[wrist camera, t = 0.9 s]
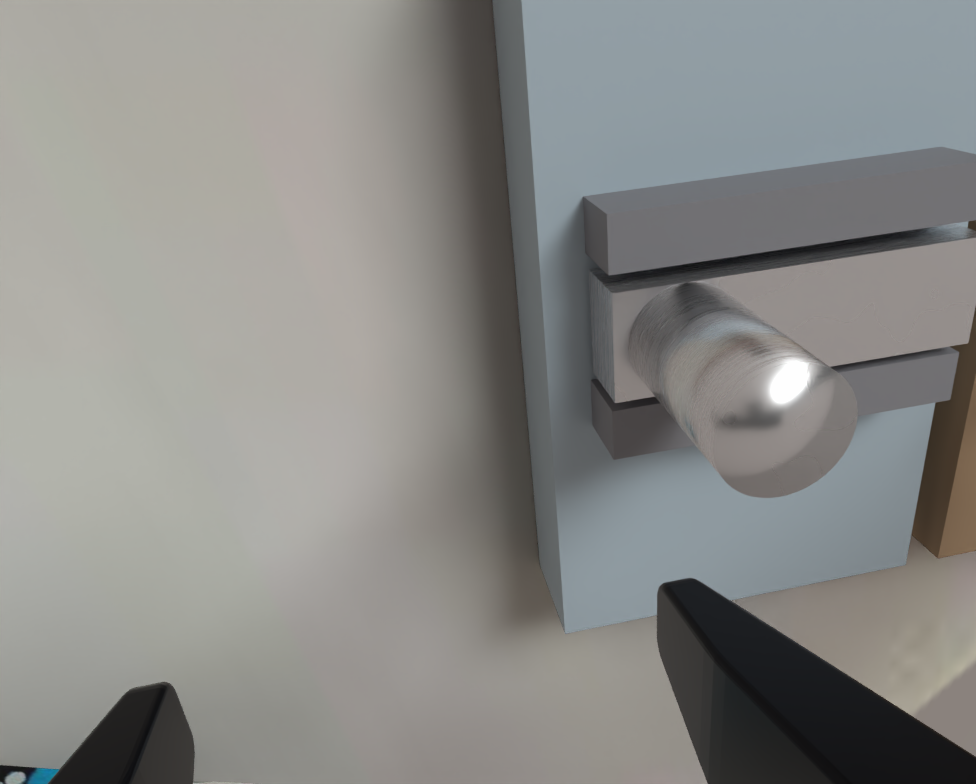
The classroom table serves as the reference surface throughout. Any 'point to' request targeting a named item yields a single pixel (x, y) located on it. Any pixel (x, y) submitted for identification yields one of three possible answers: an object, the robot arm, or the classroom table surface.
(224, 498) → the classroom table surface
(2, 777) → the decorative butterfly
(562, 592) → the door panel
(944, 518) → the jamb
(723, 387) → the bolt
